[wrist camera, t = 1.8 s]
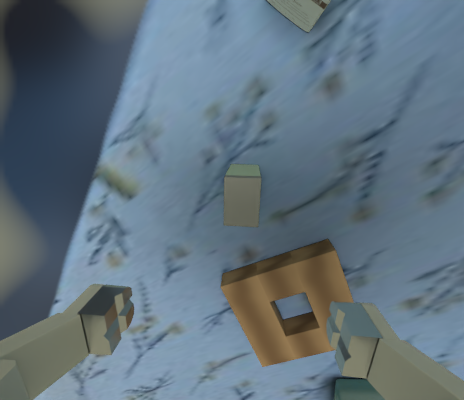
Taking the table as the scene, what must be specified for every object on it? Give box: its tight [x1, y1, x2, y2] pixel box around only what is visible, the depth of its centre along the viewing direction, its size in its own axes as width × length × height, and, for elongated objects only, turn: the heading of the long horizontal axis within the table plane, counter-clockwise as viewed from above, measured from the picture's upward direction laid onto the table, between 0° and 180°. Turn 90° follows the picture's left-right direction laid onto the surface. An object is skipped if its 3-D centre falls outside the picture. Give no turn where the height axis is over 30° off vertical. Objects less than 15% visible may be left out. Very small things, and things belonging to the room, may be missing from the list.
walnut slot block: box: [221, 239, 354, 367], centre depth 33 cm, size 16×16×3 cm
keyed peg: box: [224, 164, 261, 227], centre depth 26 cm, size 4×5×8 cm
